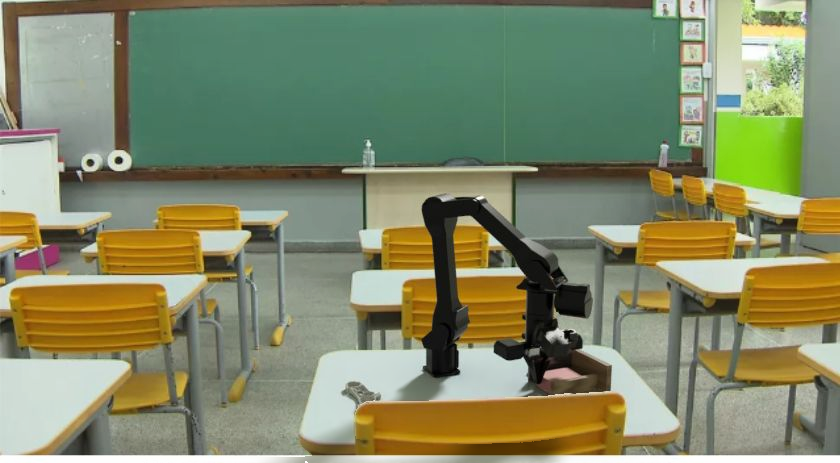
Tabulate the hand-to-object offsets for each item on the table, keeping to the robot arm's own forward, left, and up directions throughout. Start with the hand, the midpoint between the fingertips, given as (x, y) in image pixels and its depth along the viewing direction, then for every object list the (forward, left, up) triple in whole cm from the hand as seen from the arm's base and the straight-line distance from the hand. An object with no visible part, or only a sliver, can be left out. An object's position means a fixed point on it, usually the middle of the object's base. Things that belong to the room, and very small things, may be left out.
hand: (537, 383), depth 159 cm
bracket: (-35, +10, -2) cm, 37 cm away
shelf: (+7, 0, -1) cm, 7 cm away
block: (+5, 0, -2) cm, 5 cm away
